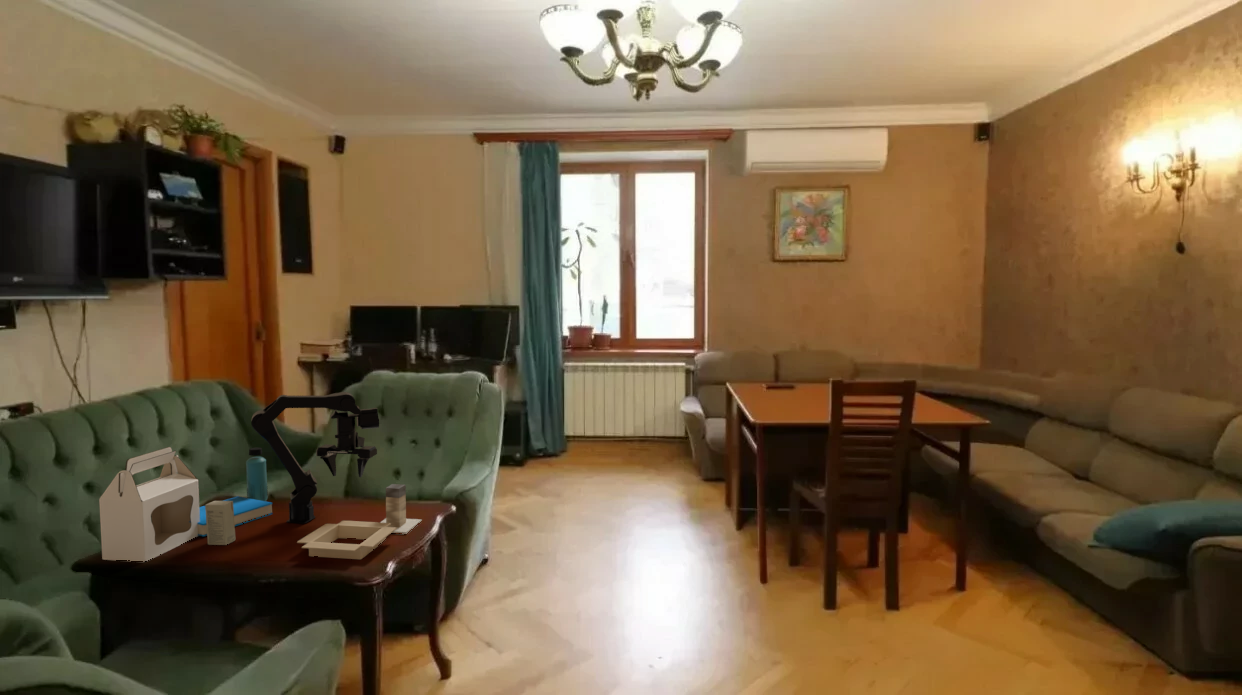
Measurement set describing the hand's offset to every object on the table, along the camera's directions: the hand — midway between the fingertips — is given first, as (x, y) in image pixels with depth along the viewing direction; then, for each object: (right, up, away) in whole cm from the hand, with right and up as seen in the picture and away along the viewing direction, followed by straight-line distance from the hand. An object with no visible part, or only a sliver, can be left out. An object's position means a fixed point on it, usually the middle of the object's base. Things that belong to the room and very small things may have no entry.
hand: (347, 476), depth 236 cm
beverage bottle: (-35, -12, +11) cm, 39 cm away
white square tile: (+20, -14, -10) cm, 26 cm away
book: (-38, -13, -7) cm, 41 cm away
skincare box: (-28, -15, -26) cm, 41 cm away
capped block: (+20, -14, -10) cm, 26 cm away
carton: (+11, -16, -28) cm, 34 cm away
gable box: (-45, -15, -30) cm, 56 cm away
